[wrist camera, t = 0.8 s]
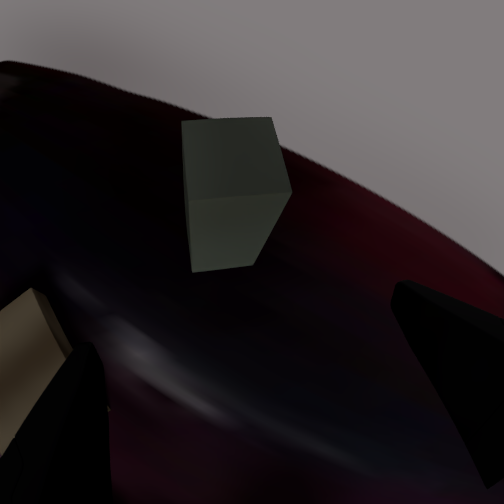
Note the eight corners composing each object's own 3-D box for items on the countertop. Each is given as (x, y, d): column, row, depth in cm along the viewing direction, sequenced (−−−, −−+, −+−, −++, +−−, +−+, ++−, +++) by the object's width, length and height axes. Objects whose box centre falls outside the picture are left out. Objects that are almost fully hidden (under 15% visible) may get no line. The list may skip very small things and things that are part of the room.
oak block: (112, 409, 19) (100, 415, 17) (27, 459, 16) (9, 467, 13) (48, 296, 21) (31, 287, 19) (-27, 354, 18) (-48, 351, 15)
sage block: (252, 265, 24) (292, 192, 14) (192, 272, 24) (188, 200, 13) (242, 210, 26) (271, 117, 16) (185, 216, 25) (181, 121, 15)
